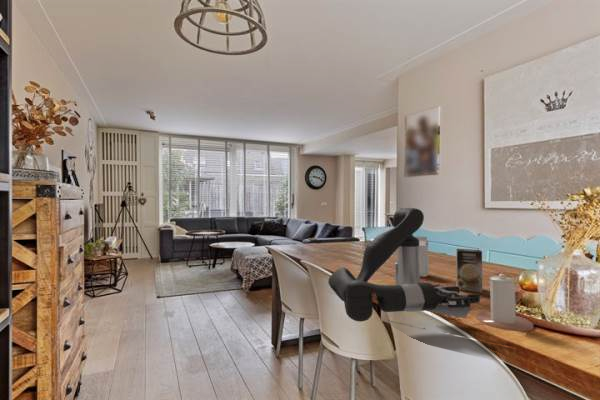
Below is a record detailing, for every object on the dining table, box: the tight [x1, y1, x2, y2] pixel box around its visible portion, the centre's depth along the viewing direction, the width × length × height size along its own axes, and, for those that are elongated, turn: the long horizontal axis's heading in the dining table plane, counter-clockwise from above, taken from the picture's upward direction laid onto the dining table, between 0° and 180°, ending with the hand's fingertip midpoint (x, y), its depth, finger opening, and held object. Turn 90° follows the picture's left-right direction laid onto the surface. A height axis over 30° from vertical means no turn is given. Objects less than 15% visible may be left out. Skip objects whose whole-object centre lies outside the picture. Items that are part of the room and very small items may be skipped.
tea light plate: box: [475, 311, 534, 333], centre depth 92 cm, size 14×14×3 cm
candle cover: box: [489, 273, 517, 324], centre depth 92 cm, size 6×6×13 cm
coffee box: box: [455, 248, 483, 293], centre depth 129 cm, size 9×6×16 cm
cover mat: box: [428, 303, 472, 319], centre depth 103 cm, size 11×11×1 cm
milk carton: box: [413, 235, 430, 278], centre depth 156 cm, size 7×7×19 cm
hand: (468, 294), depth 91 cm, fingers open, 8 cm apart
